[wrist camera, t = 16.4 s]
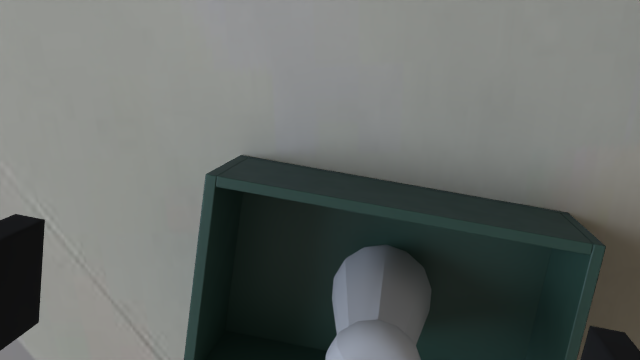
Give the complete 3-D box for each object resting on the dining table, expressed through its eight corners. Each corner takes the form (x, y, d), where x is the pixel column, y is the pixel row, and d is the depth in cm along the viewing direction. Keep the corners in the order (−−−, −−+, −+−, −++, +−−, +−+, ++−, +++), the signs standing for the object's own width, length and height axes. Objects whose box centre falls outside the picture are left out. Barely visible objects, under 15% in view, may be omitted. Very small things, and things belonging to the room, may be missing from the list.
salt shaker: (424, 230, 37) (435, 315, 25) (435, 318, 38) (451, 444, 25) (329, 240, 38) (293, 327, 25) (342, 326, 39) (313, 451, 26)
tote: (217, 332, 41) (180, 386, 34) (240, 154, 38) (205, 174, 32) (523, 396, 39) (549, 466, 32) (568, 212, 36) (606, 246, 30)
